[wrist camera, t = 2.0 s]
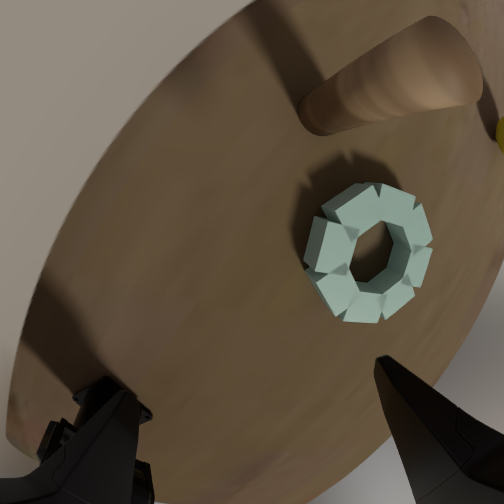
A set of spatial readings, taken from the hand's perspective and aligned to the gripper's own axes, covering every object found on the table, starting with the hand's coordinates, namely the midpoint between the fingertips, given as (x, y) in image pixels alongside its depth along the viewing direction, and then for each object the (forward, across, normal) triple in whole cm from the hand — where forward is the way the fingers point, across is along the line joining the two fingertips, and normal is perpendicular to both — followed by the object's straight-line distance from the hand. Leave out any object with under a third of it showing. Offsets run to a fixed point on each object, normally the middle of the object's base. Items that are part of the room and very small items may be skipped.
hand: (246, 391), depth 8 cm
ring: (+13, -9, +3) cm, 16 cm away
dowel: (+14, -7, -8) cm, 18 cm away
